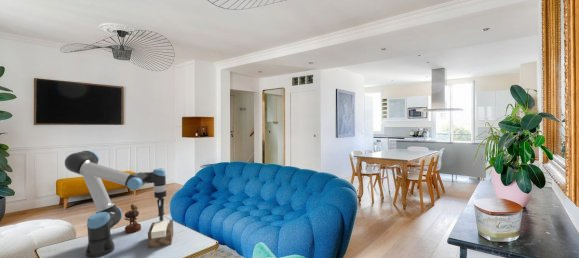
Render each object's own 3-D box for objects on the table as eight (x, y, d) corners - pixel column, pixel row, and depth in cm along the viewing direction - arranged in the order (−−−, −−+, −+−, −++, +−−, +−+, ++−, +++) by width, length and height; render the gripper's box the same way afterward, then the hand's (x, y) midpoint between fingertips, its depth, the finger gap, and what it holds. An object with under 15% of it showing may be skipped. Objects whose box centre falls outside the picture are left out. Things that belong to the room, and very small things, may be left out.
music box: (146, 228, 209) (143, 203, 206) (133, 235, 199) (129, 209, 196) (132, 225, 215) (129, 201, 212) (118, 232, 205) (115, 206, 202)
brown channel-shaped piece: (148, 248, 177) (147, 232, 177) (152, 236, 194) (152, 222, 194) (171, 244, 182) (170, 229, 181) (173, 233, 199) (172, 219, 198)
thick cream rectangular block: (151, 238, 173) (151, 232, 173) (155, 227, 190) (155, 222, 190) (165, 236, 175) (165, 230, 175) (167, 225, 192) (167, 220, 192)
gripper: (165, 192, 186) (166, 227, 187) (167, 188, 198) (168, 220, 199) (152, 194, 183) (154, 228, 184) (155, 189, 195) (157, 221, 197)
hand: (161, 224), depth 192 cm, fingers closed
